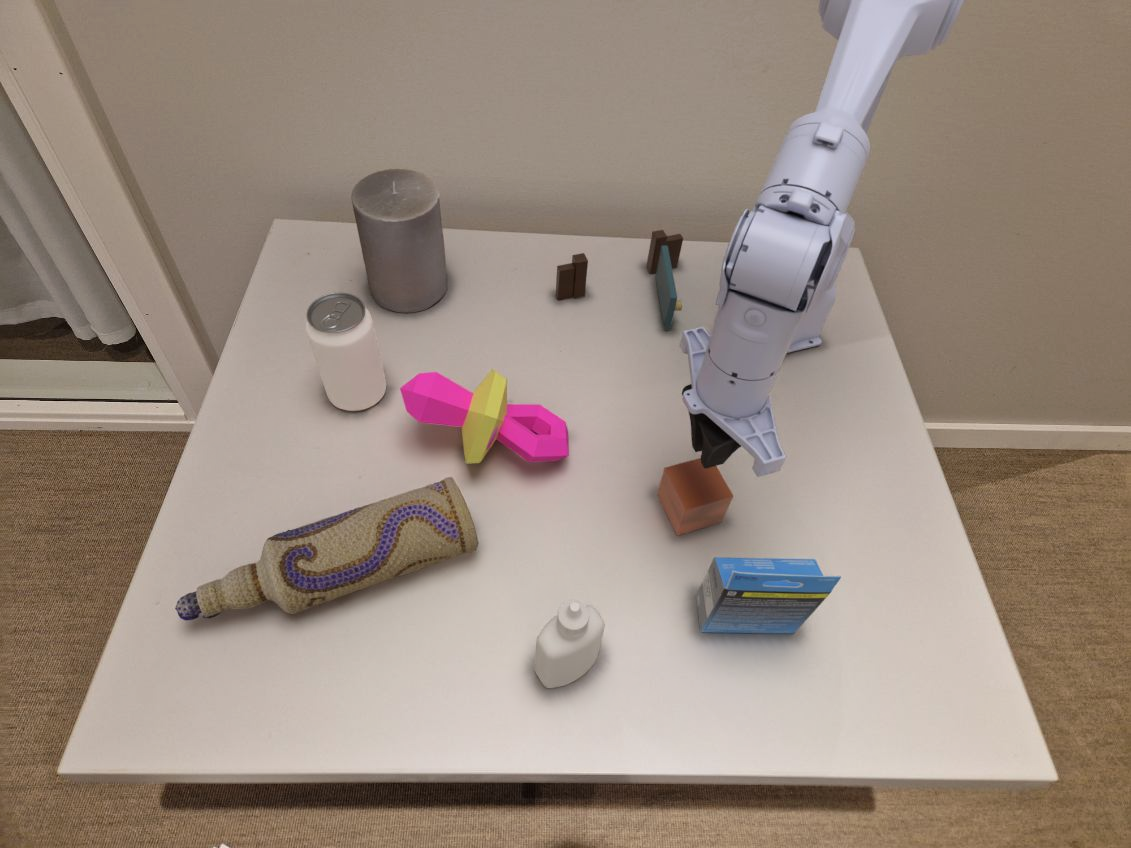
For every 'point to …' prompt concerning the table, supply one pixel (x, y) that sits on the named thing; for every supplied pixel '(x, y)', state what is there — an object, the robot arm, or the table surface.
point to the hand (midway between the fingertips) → (708, 455)
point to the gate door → (666, 288)
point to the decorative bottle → (344, 553)
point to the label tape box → (760, 594)
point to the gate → (575, 273)
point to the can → (346, 351)
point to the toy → (487, 417)
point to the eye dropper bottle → (568, 644)
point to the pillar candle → (401, 238)
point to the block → (693, 496)
